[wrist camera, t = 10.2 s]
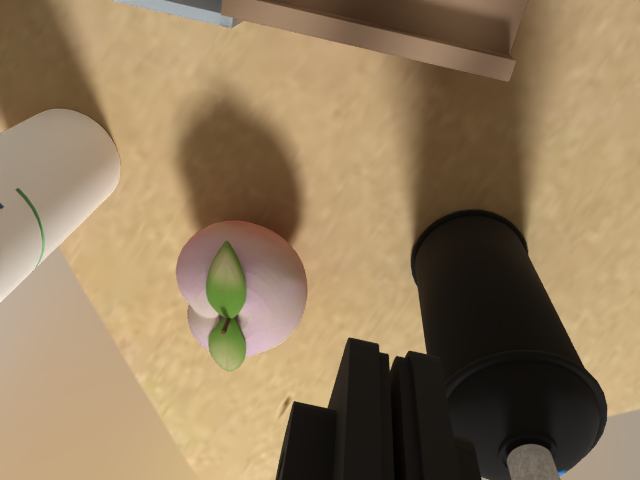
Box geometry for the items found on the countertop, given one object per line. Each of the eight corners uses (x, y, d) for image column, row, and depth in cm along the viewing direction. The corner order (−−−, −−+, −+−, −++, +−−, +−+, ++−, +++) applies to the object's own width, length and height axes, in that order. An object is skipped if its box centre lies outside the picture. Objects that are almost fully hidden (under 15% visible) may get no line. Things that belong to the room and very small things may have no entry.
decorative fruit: (320, 301, 45) (308, 391, 36) (216, 308, 46) (179, 397, 37) (304, 187, 40) (285, 257, 31) (190, 197, 41) (141, 267, 32)
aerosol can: (392, 236, 42) (408, 457, 24) (504, 190, 39) (614, 395, 22) (437, 323, 45) (481, 576, 27) (543, 285, 42) (668, 532, 25)
